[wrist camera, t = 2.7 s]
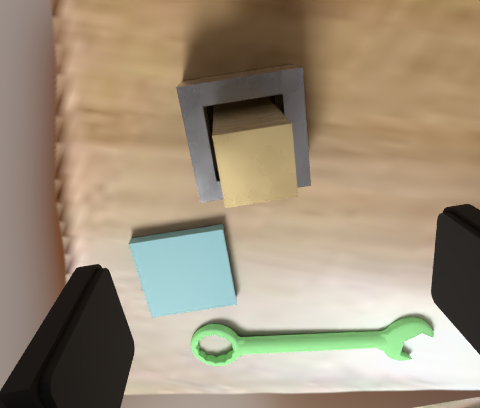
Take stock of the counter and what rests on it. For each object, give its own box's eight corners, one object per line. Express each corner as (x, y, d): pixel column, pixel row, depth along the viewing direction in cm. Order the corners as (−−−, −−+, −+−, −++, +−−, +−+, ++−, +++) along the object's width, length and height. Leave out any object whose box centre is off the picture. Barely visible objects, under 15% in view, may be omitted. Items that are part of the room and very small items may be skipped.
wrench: (418, 347, 40) (430, 309, 38) (428, 361, 38) (441, 323, 36) (192, 358, 38) (190, 319, 36) (191, 374, 36) (189, 334, 34)
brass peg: (214, 104, 27) (212, 135, 18) (266, 96, 27) (292, 123, 18) (222, 155, 29) (225, 208, 19) (272, 147, 29) (297, 196, 19)
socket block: (182, 81, 26) (176, 87, 22) (290, 64, 26) (302, 67, 22) (202, 183, 29) (200, 202, 26) (299, 167, 29) (310, 185, 26)
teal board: (131, 238, 31) (128, 243, 30) (222, 224, 31) (222, 229, 30) (153, 310, 34) (151, 317, 33) (236, 297, 34) (236, 304, 33)
